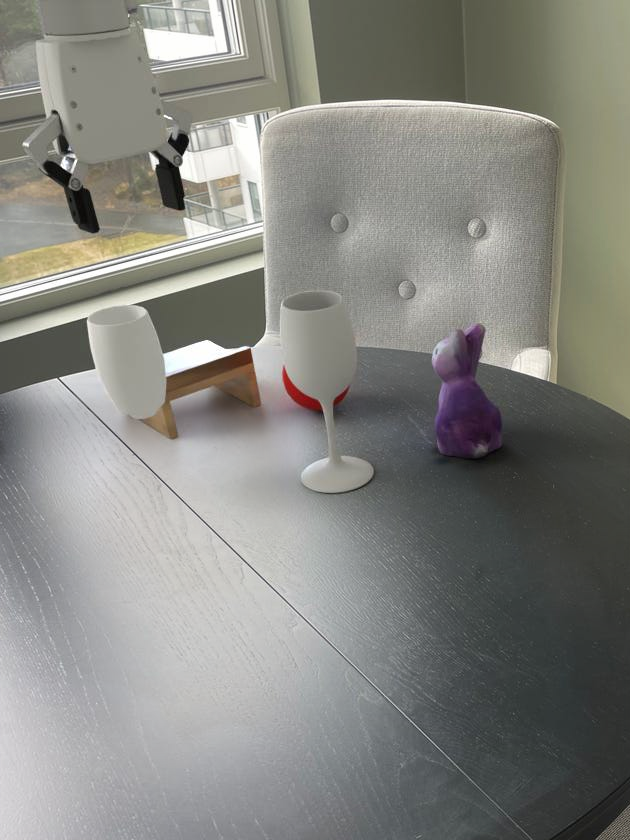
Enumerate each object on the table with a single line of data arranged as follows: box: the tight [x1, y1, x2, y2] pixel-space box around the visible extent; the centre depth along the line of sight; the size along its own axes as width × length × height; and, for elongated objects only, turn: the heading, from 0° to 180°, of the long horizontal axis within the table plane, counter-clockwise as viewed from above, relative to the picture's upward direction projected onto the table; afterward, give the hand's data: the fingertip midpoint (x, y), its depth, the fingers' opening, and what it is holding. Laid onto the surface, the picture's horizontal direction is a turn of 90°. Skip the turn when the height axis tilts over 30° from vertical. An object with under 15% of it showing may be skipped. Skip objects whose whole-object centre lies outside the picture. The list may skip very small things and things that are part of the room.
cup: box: [86, 304, 166, 420], centre depth 109 cm, size 7×7×21 cm
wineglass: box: [279, 289, 375, 494], centre depth 109 cm, size 9×9×21 cm
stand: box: [138, 339, 262, 440], centre depth 130 cm, size 12×14×8 cm
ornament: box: [281, 363, 351, 412], centre depth 128 cm, size 9×9×10 cm
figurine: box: [431, 322, 503, 459], centre depth 117 cm, size 9×10×15 cm
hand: (133, 219), depth 97 cm, fingers open, 9 cm apart
